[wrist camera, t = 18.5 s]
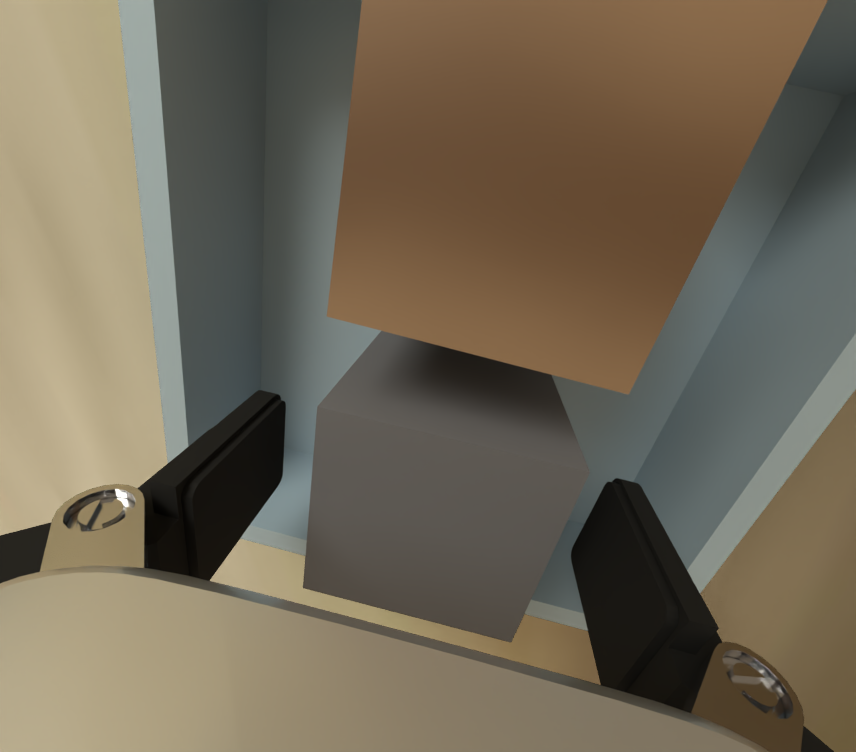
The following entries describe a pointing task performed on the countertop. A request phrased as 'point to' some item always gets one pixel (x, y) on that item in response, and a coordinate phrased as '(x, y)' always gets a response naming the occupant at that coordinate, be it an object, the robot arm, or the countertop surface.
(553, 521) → the charcoal block
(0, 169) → the countertop surface
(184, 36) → the bin
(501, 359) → the walnut block
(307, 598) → the countertop surface
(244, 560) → the countertop surface
